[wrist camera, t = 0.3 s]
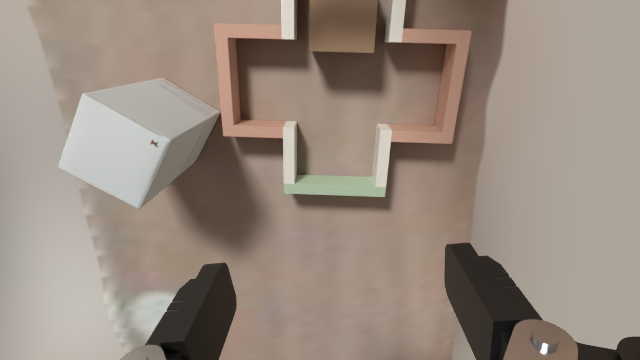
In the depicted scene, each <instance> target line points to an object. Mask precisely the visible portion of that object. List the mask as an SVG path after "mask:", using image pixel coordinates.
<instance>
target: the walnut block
mask: <svg viewBox="0 0 640 360" xmlns="http://www.w3.org/2000/svg"><path fill="white" fill-rule="evenodd" d="M377 8H378V0H310V18H309V51H322V52H356V53H374V45H375V33H376V21H377Z"/></svg>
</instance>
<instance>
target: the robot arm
mask: <svg viewBox="0 0 640 360" xmlns="http://www.w3.org/2000/svg"><path fill="white" fill-rule="evenodd" d="M445 288H446V292H447V296H448V298H449V301H450V303H451V305H452V307H453V309H454V312H455V314H456V316H457V318H458V320H459V323H460V324H461V327H462V329H463V331H464V333H465V336H466V338H467V340H468V342H469V344H470V346H471V349H472V351H473V353H474V355H475V358H476V360H640V337H627V338H624V339H622V340H621V341H620V342H619V344H618V346H617V349H616V350H612V349H607V348H601V347H596V346H590V345H585V344H581V343H578V342H575V341H574V339H573V338H572V337H571V336H570V335H569V334H568V333H567V332H566V331H564V330H563V329H561V328H560V327H558V326H556V325H554V324H552V323H549V322H546V321H543V320H542V318H541V317H540V316H539V314H538V313H537V312H536V310H535V309H534V308H533V306H532V305H531V304H530V302H529V301H528V300H527V299H526V297H525V296H524V295H523V293H522V292H521V291H520V289H519V288H518V287H516V284H515V283H514V281H513V280H512V279H511V278H509V275H508V273H507V272H506V271H505V270H504V268H503V267H502V266H501V264H499V263H498V262H496V261H495V260H493V259H491V258H490V257H489V256H478V254H477V253H476V251H475V250H474V248H473V247H472V245H471V244H470V243H458V244H447V245H446V248H445ZM172 301H173V302H172V303H171V304H170V305H169V307H168V309H167V312H165V314H164V315H163V317H162V318H161V320H160V322H159V323H158V325H157V327H156V328H155V330H154V331H153V333H152V335H151V336H150V338H149V340H148V341H147V343H146V344H145V346H142V347H139V348H137V349H134V350H133V351H131V352H129V353H128V354H126V355H125V356H124V357H123V358H122V359H120V360H219V357H220V354H221V351H222V348H223V346H224V343H225V340H226V337H227V334H228V332H229V329H230V326H231V323H232V320H233V317H234V315H235V311H236V294H235V291H234V287H233V283H232V280H231V276H230V272H229V269H228V266H227V264H226V263H216V264H205V265H204V266H203V267H202V269H201V270H200V272H199V274H198V276H197V277H196V279H190V280H189V281H188V282H187V283H186V284H185V285H184V286H183V287H181V288H180V289H179V291H178V292H177V294H176V296H175V297H174V299H173V300H172Z"/></svg>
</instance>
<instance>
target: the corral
mask: <svg viewBox="0 0 640 360" xmlns="http://www.w3.org/2000/svg"><path fill="white" fill-rule="evenodd" d="M405 6H406V0H388V5H387V17H386V28H385V39H384V42H387V43H423V44H447V45H446V52H445V58H444V65H443V71H442V78H441V84H440V91H439V97H438V104H437V110H436V117H435V123H434V126H421V125H390V124H377V128H376V140H375V151H374V162H373V173H372V177H354V176H326V175H297V121H265V120H241V116H240V100H239V84H238V67H237V51H236V38H242V39H278V40H297V0H281V25H257V24H219V23H214V32H215V44H216V56H217V68H218V80H219V92H220V104H221V117H222V129H223V136H232V137H262V138H283V166H284V193H287V194H315V195H342V196H370V197H385V192H386V183H387V174H388V164H389V155H390V146H391V142H413V143H443V144H452V141H453V135H454V130H455V124H456V119H457V113H458V107H459V102H460V96H461V90H462V85H463V79H464V73H465V68H466V62H467V56H468V51H469V45H470V39H471V34H472V30H443V29H406V28H403V24H404V15H405Z"/></svg>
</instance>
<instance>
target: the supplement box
mask: <svg viewBox="0 0 640 360" xmlns="http://www.w3.org/2000/svg"><path fill="white" fill-rule="evenodd" d="M219 115H220V112H219V111H217V110H215V109H214V108H212V107H211V106H209V105H207V104H205V103H204V102H202V101H201V100H199V99H197V98H196V97H194V96H192V95H191V94H189V93H187V92H186V91H184V90H182V89H181V88H179V87H177V86H175V85H174V84H172V83H171V82H169V81H167V80H165V79H164V78H159V79H154V80H148V81H143V82H139V83H134V84H128V85H124V86H118V87H113V88H108V89H104V90H98V91H94V92H88V93H83V94H82V96H81V99H80V103H79V106H78V109H77V112H76V115H75V117H74V120H73V123H72V126H71V129H70V132H69V135H68V138H67V141H66V145H65V147H64V150H63V153H62V156H61V159H60V162H59V165H58V167H59V168H60V169H62V170H64V171H66V172H68V173H70V174H72V175H73V176H75V177H77V178H79V179H81V180H83V181H85V182H87V183H89V184H91V185H93V186H95V187H97V188H99V189H101V190H103V191H105V192H107V193H109V194H110V195H112V196H114V197H116V198H118V199H120V200H121V201H123V202H125V203H127V204H129V205H131V206H133V207H134V208H136V209H140V208H141V207H142V206H144V205H145V204H146V203H147V202H149V201H150V200H151V199H152V198H153V197H155V196H156V195H157V194H158V193H159V192H160V191H162V190H163V189H164V188H165V187H166V186H167V185H169V184H170V183H171V182H172V181H173V180H174V179H176V178H177V177H178V176H179V175H180V174H181V173H183V172H184V171H185V170H186V169H187V168H189V167H190V166H191V165H192V164H193V163H195V162H196V160H197V158H198V156H199V154H200V152H201V151H202V149H203V147H204V145H205V143H206V141H207V139H208V137H209V135H210V133H211V131H212V129H213V127H214V125H215V123H216V121H217V119H218V117H219Z"/></svg>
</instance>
